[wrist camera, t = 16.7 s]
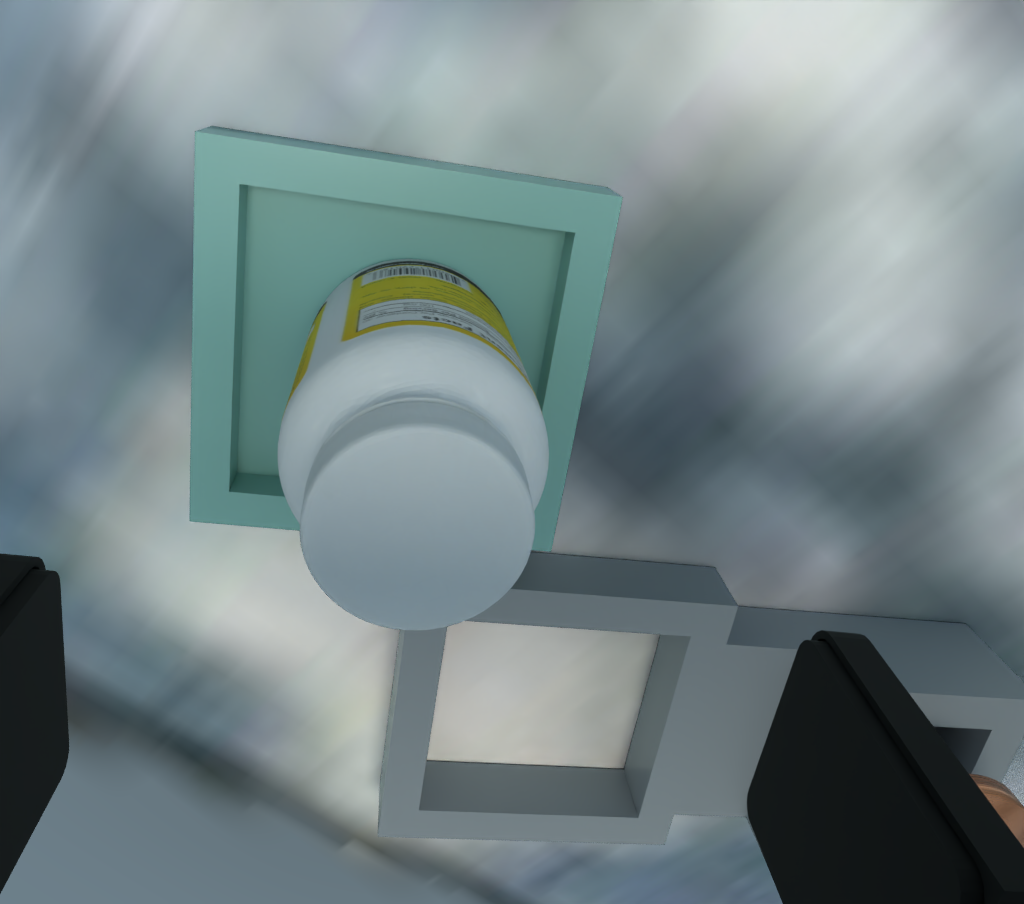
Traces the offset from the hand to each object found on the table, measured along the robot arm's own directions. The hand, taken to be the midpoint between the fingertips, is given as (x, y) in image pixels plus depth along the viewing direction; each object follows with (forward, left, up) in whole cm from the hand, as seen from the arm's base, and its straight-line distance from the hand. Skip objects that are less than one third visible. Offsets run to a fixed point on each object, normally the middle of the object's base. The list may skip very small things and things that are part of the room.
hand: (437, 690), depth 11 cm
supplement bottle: (0, 0, -14) cm, 14 cm away
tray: (+1, 0, -14) cm, 14 cm away
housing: (-10, +11, -14) cm, 21 cm away
